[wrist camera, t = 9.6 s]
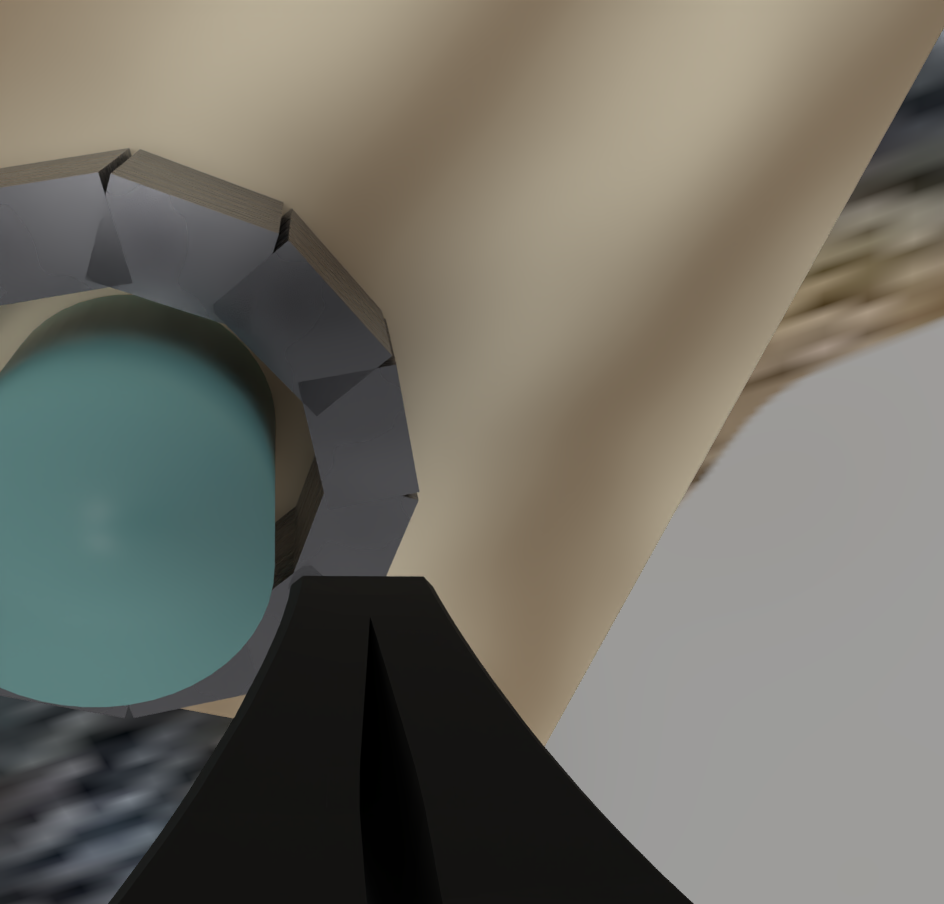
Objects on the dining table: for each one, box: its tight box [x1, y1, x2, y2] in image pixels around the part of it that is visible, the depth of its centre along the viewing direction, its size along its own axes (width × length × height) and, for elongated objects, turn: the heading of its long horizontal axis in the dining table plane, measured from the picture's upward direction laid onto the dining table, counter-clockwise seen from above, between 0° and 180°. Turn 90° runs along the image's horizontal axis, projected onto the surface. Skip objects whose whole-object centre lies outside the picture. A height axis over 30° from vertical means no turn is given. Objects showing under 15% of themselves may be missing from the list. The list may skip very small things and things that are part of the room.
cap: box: [0, 295, 275, 707], centre depth 14 cm, size 5×5×5 cm
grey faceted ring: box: [0, 148, 420, 718], centre depth 16 cm, size 10×10×2 cm
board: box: [0, 0, 944, 747], centre depth 17 cm, size 16×20×1 cm
